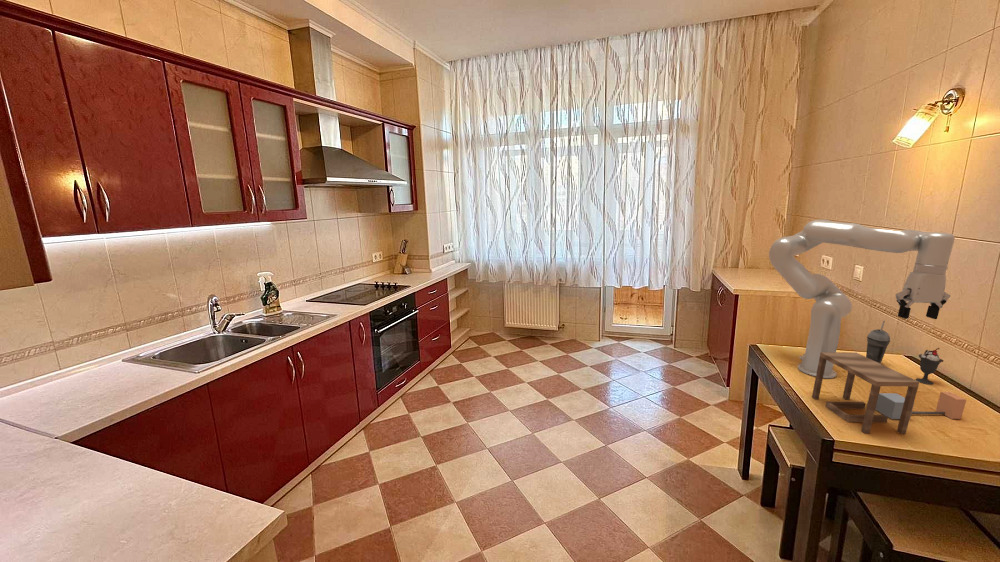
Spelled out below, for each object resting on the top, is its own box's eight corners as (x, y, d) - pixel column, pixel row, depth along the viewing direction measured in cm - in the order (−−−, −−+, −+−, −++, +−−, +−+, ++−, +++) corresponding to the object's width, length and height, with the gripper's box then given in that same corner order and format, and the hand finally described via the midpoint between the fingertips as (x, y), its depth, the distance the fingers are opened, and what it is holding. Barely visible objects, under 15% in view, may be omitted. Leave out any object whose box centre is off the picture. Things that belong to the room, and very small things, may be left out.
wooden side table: (811, 397, 145) (820, 352, 141) (846, 397, 145) (856, 352, 141) (864, 433, 123) (876, 381, 120) (905, 434, 123) (919, 382, 119)
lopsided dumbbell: (874, 409, 137) (879, 390, 135) (943, 409, 137) (948, 391, 135) (891, 419, 131) (896, 399, 129) (962, 419, 131) (968, 400, 129)
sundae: (933, 387, 152) (943, 350, 149) (909, 380, 158) (918, 344, 155) (940, 383, 155) (949, 347, 152) (916, 376, 161) (925, 341, 158)
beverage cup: (880, 362, 174) (890, 318, 170) (887, 369, 168) (898, 323, 163) (858, 359, 177) (868, 316, 173) (865, 365, 171) (875, 321, 166)
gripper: (943, 267, 138) (931, 314, 142) (893, 267, 138) (881, 314, 142) (968, 272, 131) (954, 321, 135) (914, 271, 131) (902, 321, 135)
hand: (916, 317), depth 139 cm, fingers open, 9 cm apart
